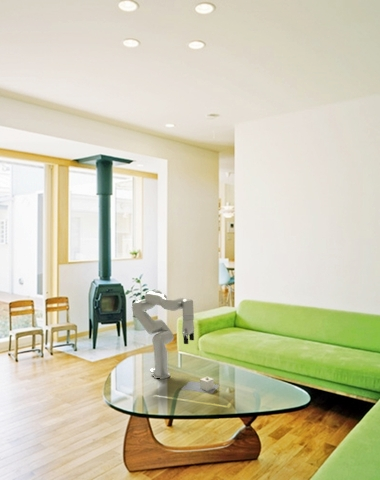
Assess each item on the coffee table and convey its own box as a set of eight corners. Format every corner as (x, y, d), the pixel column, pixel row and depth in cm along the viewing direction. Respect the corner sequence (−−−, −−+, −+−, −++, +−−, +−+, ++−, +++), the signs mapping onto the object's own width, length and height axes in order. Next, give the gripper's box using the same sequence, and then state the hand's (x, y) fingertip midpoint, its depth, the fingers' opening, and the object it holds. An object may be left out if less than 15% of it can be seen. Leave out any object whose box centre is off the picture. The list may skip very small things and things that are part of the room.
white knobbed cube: (207, 391, 256) (206, 380, 256) (200, 388, 261) (199, 377, 261) (214, 388, 260) (213, 377, 260) (207, 385, 265) (206, 375, 265)
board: (180, 391, 260) (180, 389, 260) (189, 382, 274) (189, 381, 274) (212, 395, 251) (212, 393, 251) (219, 386, 265) (219, 385, 265)
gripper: (188, 314, 283) (188, 338, 283) (178, 319, 267) (178, 345, 267) (197, 315, 280) (198, 339, 280) (188, 320, 264) (188, 345, 264)
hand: (188, 342), depth 274 cm, fingers open, 9 cm apart
